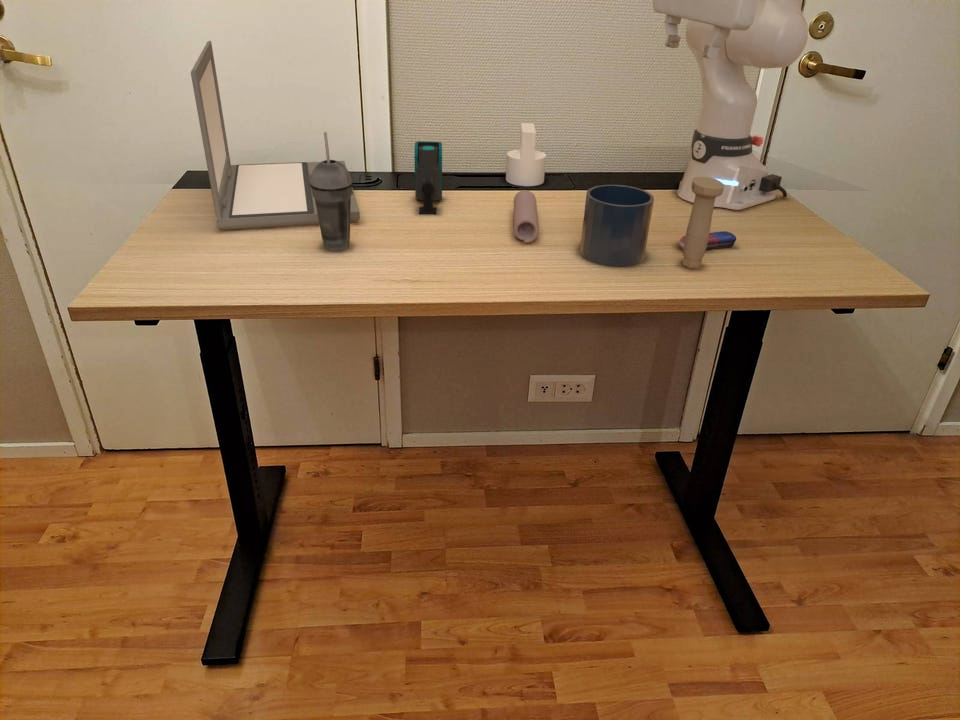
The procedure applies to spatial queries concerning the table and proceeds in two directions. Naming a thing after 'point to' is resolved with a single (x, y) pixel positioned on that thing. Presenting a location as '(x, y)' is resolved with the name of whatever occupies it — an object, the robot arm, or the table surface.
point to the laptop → (250, 170)
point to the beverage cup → (332, 201)
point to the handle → (700, 219)
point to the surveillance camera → (428, 174)
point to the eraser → (716, 240)
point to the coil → (525, 216)
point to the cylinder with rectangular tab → (526, 160)
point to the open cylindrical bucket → (616, 225)
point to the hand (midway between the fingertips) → (689, 52)
